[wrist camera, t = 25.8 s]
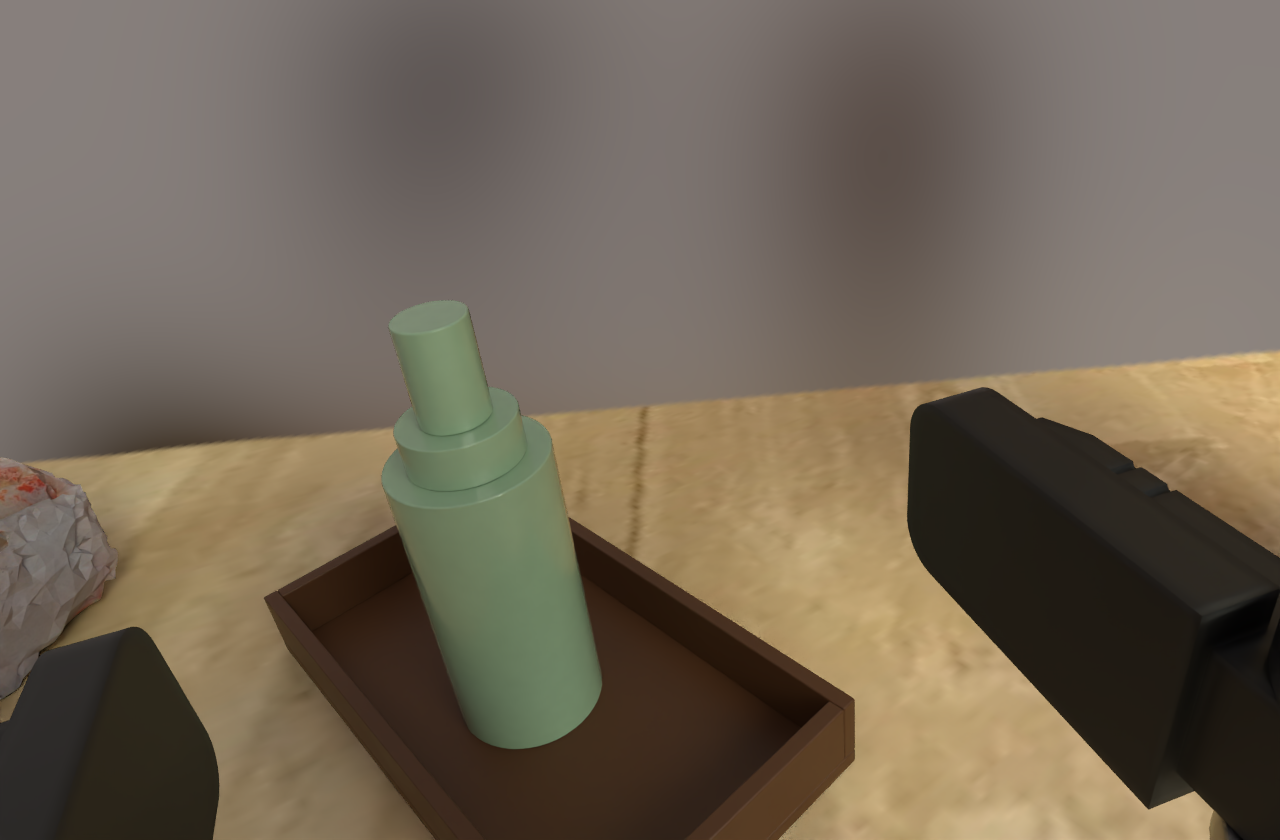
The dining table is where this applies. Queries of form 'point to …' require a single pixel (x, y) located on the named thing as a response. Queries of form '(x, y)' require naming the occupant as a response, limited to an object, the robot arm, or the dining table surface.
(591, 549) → the tray
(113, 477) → the dining table surface
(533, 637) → the sage bottle
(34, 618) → the grey rough block
